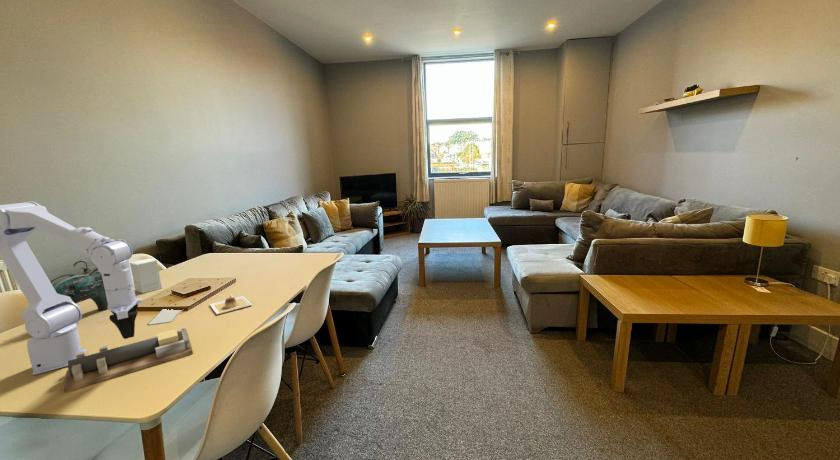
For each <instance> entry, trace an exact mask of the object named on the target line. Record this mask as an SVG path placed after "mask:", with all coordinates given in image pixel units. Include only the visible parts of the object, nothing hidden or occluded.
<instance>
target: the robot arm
mask: <svg viewBox="0 0 840 460" xmlns="http://www.w3.org/2000/svg"><path fill="white" fill-rule="evenodd" d="M36 230H40V231H43V232H46V233H48V234H50V235H53V236H55V237H58V238H61V239H62V240H65V245H66V246H67V247H69V248H71V249H73V250H75V251H77V252H79V253H82V254H84V255H86V256H88V257H90V260H91V262H92V263H93V265H96V266H97V268H98V272H100V273H101V274H102V279H103V283H104V288H105V293H106V297H107V302H108V306H107V307H108V309H107V310H109V311H110V312H111V313H112V314H110V315H109V320H110V322H111V323H113V324H114V325H115V326H116V328H117V329H118V331H119V333H120V335H121V337H122V339H124V340H126V339H130V338H134V337H135V330H136V329H135V328H136V326H135V325H136V324H135V323H136V319H137V316H138V313H139V310H137V309H138V307H139V303H142V302H143V298H142V297H138V298H137V297H136V290H135V286H134V281H133V276H132V271H131V266H130V262H129V260H130V259H131V258H132V256H133V253H134V251H133V247H132V246H131V244H130V243H128V242H127V241H126V240H125V239H111V238H110V237H108V236H104V235H102V234H100V233H97V231H96V232H95V231H94V229H93V228H91V227H89V226H86V227H85V226H81V227H75V226H73V225H71V224H69V223H68V222H65V220H62V219H60V218H59V217H57V216H56V215H53V214H51V213H50V212H49V211H48V209H47V208H46V206H44V205H41V204H39V203H38V202H35V201H30V200H29V201H23V202H18V203H8V204H7V203H5V204H0V259H1V260H2V262H3V264H4V265H5V267H6V268H7V270H8V272H9V273H10V275H11V276H12V278H13V280H14V281H15V283H16V285H17V286H18V287H19V290H20V291H21V292H22V294H23V296H24V298H25V299H26V300H27V303H28V305H27V307H26V308H25V309H24V311H23V312H22V313H21V317H22V320H23V321H24V329H25V331H26V332H27V333H28V335H29V336H32V337H30V338H28V339H27V344H26V345H27V346H26V347H27V353H28V357H29V361H30V364H31V369H32V371H33V372H32V375H33V376H35V375H40V374H43V373H46V372H50V371H54V370H57V369H60V368H65V367H68V361H69V360H73V359H77V358H76V354H77V353H80V352H83V351H85V355H86V353H87V349H86V348H84V349H82V344H81V340H80V335H79V331H78V326H79V325H80V323H79V322H80V321H81V319H82V318H83V310H82V308H81V307H80V306H79V305H78V304H77V303H74V302H73V301H72V299H71V298H70V297H69V296H65V295H60V294H57V292H56V291H55V289H54V287H53V286H52V285H53V284H52V283H51V281H50V279H49V278H48V276H47V274H46V273H45V271H44V269H43V268H42V265H41V264H40V262H39V261H38V259H37V257H36V256H35V255H34V253H33V251H32V249H31V247H30V246H29V244H28V242H27V240H28V237H29V236H30V235H31V234H33V232H35V231H36ZM52 306H54V308H52V309H49V310H47V311H44V310H45V309H47V308H49V307H52Z"/></svg>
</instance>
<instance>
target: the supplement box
mask: <svg viewBox="0 0 840 460" xmlns="http://www.w3.org/2000/svg"><path fill="white" fill-rule="evenodd" d="M129 265H130V271H131V276H132V281H133V286H134V291H135V292H138V293H141V294H145V293H150V292H152V291H156V290H160V289H162V281H161V277H160V271H159V265H158V260H156V259H152V258H150V257H149V258H145V259H141V260H135V261H131V262H129Z"/></svg>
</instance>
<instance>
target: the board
mask: <svg viewBox="0 0 840 460" xmlns="http://www.w3.org/2000/svg"><path fill="white" fill-rule="evenodd" d="M176 331H177V334H178V339H179V341H178V342H174V343H170V344H167V345H163V346H160V347H156V348H155V350H156V352H154V353H151V354H147V355H144V356H140V357H137V358H133V359H130V360H127V361H123V362H120V363H116V364H113V365H109V366H107V364H106V360H105V357H104V358H100V359H97V367H98V369H96V370H92V371H89V372H85V373H83V371H82V367H81V364H78V365H74V366H72V373H73V376H70V374H69V372H68V373H67V377H66V379H65V383H64V385H63V393H66V392H70V391H73V390H76V389H77V390H78V389H80V388H84V387H86V386H90V385H93V384H96V383H100V382H102V381H106V380H109V379H113V378H116V377H120V376H122V375H125V374H129V373H133V372H136V371H140V370H143V369H146V368H150V367H152V366H156V365H159V364H164V363H166V362H170V361H172V360H173V361H174V360H176V359H179V358H183V357H186V356H190V355H192V354H194V352H193V347H192V343H191V340H190V337H189V334H188V332H187V331H188V330H187V328H186V327H185V328H182V329H176ZM155 337H158V336H157V335H155V336H153V338H155ZM106 350H109V347H108V345H103V346H100V347H99V349H98V351H99V352H103V351H106ZM84 356H87V355H86V354H85V351H83V352H80V353H77V354H76V358H80V357H84Z"/></svg>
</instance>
